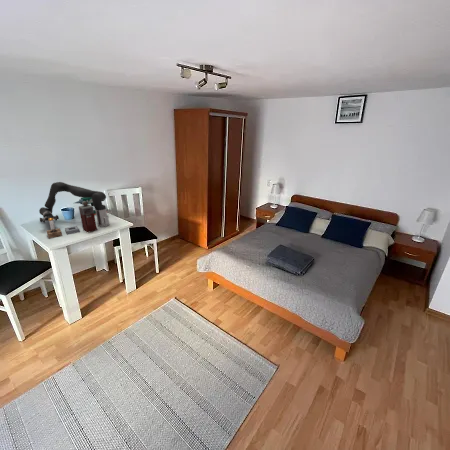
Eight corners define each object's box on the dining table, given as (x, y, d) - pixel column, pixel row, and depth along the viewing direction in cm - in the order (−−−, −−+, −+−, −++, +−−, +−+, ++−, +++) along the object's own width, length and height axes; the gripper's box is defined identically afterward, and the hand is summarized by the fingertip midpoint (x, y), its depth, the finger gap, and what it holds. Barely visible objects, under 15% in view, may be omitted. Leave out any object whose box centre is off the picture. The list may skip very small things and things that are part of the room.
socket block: (77, 228, 231) (76, 225, 230) (79, 231, 224) (79, 228, 223) (65, 231, 225) (64, 228, 224) (67, 234, 218) (66, 231, 217)
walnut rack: (60, 232, 222) (59, 228, 221) (62, 235, 215) (61, 231, 214) (47, 234, 216) (46, 230, 215) (48, 238, 209) (47, 234, 208)
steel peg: (57, 234, 217) (53, 217, 211) (55, 236, 214) (50, 219, 208) (54, 234, 217) (50, 217, 212) (51, 235, 214) (47, 218, 208)
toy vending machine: (88, 233, 221) (82, 203, 211) (83, 230, 228) (77, 201, 218) (98, 230, 228) (92, 201, 217) (93, 227, 234) (87, 199, 224)
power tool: (77, 219, 254) (73, 201, 247) (74, 217, 258) (70, 199, 250) (107, 212, 278) (104, 195, 270) (103, 210, 282) (101, 194, 274)
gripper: (37, 213, 225) (39, 218, 214) (56, 210, 234) (58, 215, 222) (39, 221, 228) (41, 226, 216) (57, 218, 237) (60, 222, 225)
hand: (50, 220), depth 219 cm, fingers open, 8 cm apart
